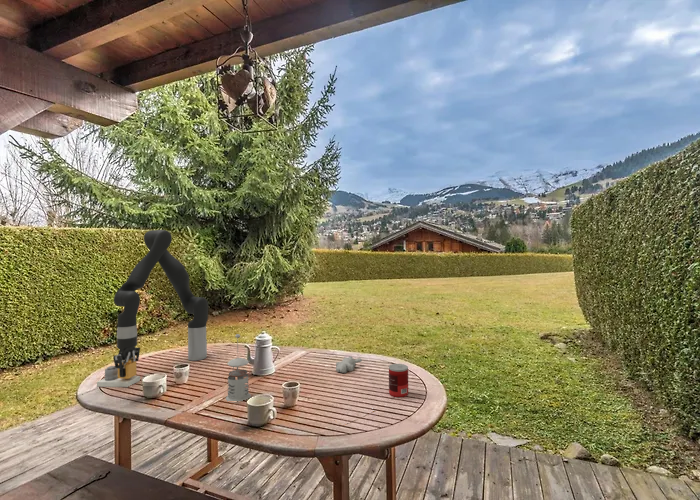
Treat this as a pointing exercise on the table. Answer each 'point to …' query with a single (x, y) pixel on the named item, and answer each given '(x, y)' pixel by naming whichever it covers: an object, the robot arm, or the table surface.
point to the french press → (238, 380)
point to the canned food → (398, 380)
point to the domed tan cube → (129, 370)
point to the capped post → (111, 373)
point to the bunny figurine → (347, 364)
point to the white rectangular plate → (118, 382)
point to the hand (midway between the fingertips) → (127, 374)
